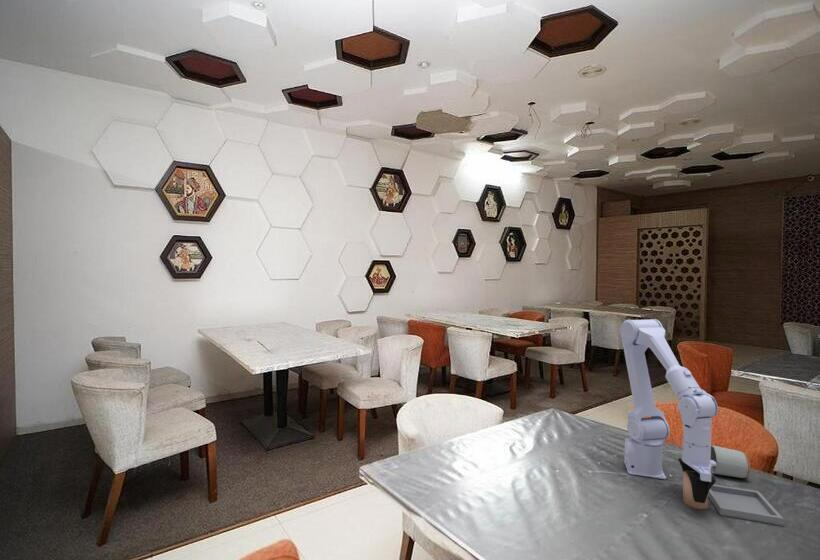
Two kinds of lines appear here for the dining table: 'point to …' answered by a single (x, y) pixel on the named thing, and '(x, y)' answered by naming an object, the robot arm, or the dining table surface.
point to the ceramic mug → (729, 462)
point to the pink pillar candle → (691, 494)
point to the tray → (743, 505)
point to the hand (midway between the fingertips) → (695, 495)
